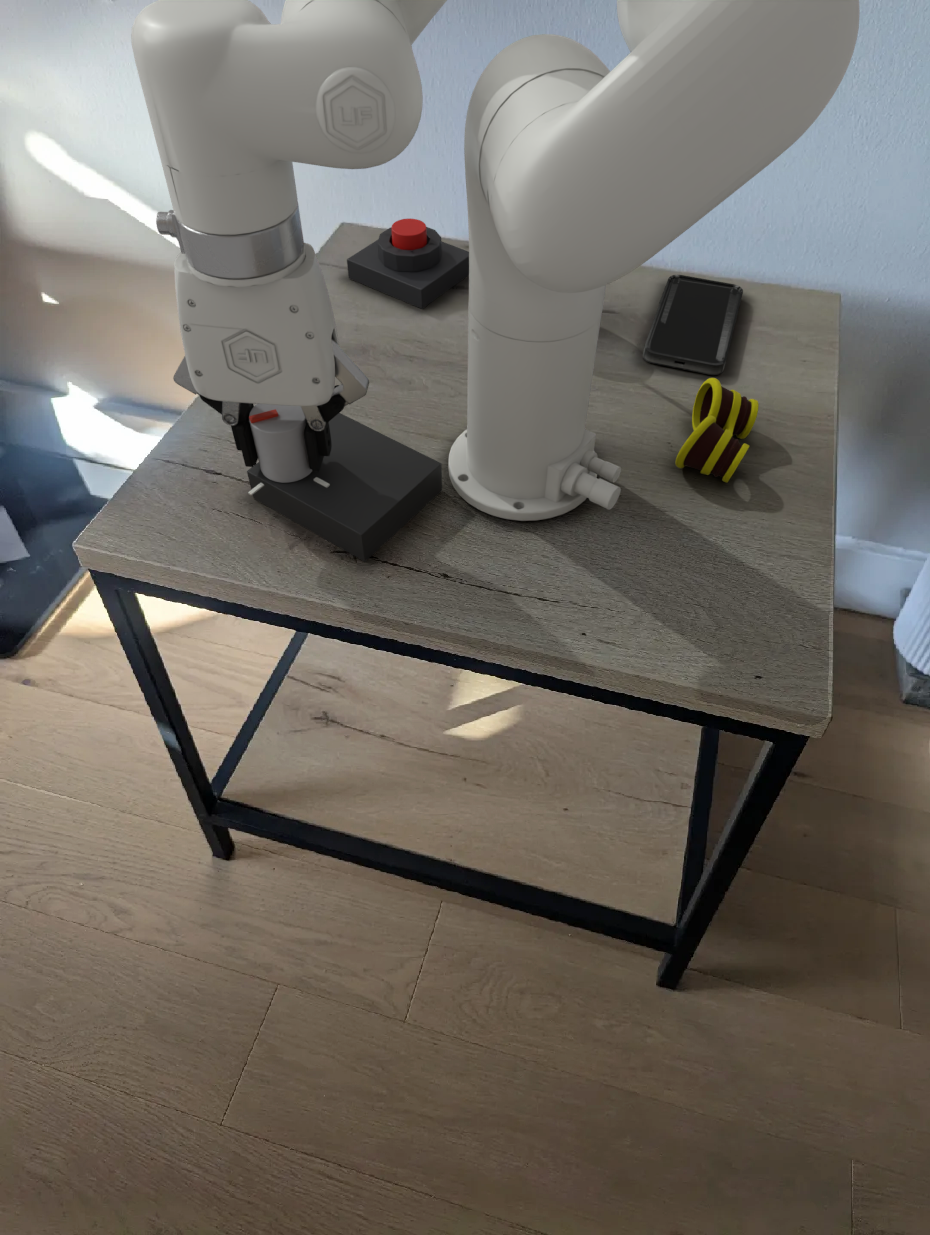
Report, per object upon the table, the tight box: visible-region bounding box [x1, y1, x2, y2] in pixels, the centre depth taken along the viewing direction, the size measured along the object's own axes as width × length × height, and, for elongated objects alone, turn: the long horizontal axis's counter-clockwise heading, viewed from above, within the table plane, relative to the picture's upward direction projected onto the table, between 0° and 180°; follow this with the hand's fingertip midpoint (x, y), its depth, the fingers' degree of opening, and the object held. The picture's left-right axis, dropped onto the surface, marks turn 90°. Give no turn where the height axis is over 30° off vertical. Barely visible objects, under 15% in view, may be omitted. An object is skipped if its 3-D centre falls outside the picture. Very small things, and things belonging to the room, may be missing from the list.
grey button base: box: [346, 226, 469, 310], centre depth 92 cm, size 10×9×4 cm
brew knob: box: [249, 404, 312, 483], centre depth 67 cm, size 4×4×5 cm
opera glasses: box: [675, 377, 760, 483], centre depth 74 cm, size 10×5×5 cm, turn 160°
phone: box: [642, 274, 744, 376], centre depth 87 cm, size 8×1×15 cm
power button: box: [390, 218, 427, 250], centre depth 90 cm, size 4×4×2 cm
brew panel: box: [246, 412, 443, 563], centre depth 70 cm, size 14×12×3 cm
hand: (286, 455), depth 69 cm, fingers closed on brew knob, 4 cm apart
